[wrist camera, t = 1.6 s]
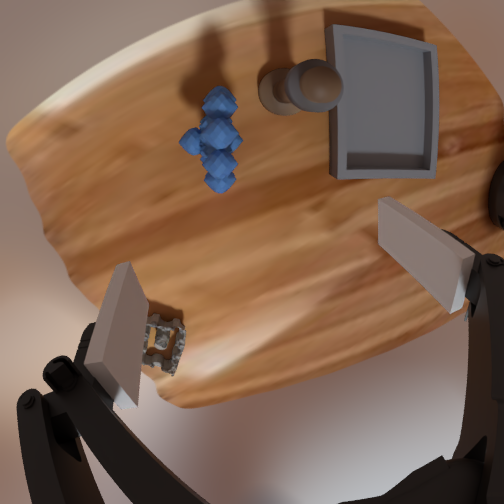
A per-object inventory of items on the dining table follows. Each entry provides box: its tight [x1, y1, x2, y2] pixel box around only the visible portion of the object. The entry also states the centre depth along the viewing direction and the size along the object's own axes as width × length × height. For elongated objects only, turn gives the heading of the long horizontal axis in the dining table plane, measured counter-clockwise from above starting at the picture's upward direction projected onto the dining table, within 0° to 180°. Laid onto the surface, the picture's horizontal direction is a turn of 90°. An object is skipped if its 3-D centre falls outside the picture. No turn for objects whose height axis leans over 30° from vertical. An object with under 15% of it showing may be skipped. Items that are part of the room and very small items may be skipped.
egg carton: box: [142, 313, 186, 376], centre depth 47 cm, size 11×8×4 cm
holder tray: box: [325, 24, 439, 179], centre depth 34 cm, size 16×20×3 cm
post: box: [258, 59, 344, 116], centre depth 27 cm, size 6×6×16 cm
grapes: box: [179, 86, 243, 193], centre depth 30 cm, size 12×7×12 cm, turn 179°
